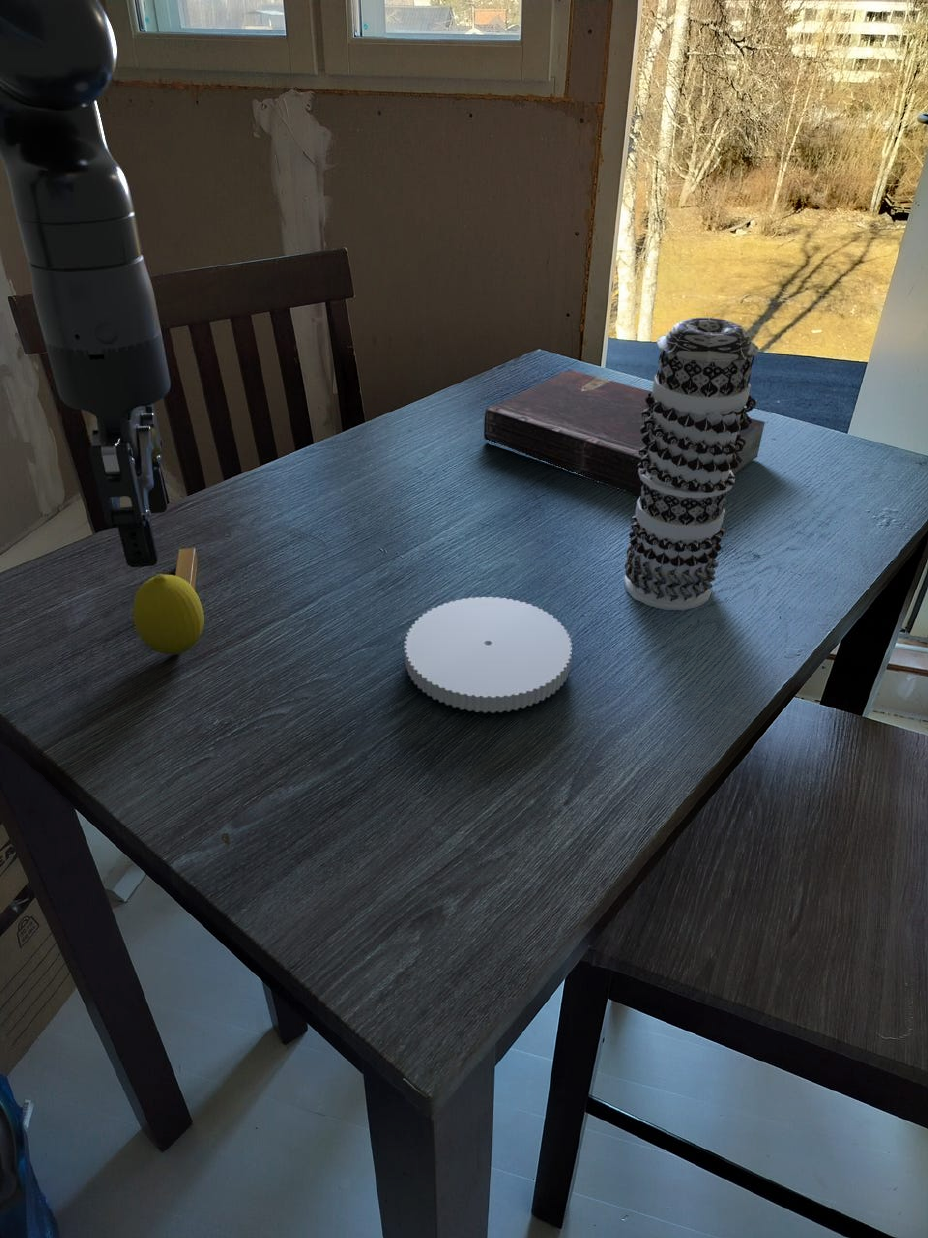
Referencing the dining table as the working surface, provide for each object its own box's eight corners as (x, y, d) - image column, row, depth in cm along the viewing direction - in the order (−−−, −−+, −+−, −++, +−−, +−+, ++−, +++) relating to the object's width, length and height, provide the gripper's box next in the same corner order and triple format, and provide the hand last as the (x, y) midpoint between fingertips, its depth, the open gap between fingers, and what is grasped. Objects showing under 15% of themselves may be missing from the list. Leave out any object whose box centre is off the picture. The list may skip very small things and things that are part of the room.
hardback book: (483, 443, 111) (484, 406, 108) (566, 403, 122) (569, 369, 119) (684, 513, 95) (691, 472, 92) (756, 459, 107) (764, 421, 104)
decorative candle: (716, 618, 78) (774, 348, 64) (615, 605, 80) (650, 338, 66) (716, 568, 86) (768, 314, 71) (623, 556, 87) (656, 307, 73)
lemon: (132, 667, 72) (110, 588, 68) (165, 630, 77) (147, 554, 72) (191, 677, 71) (173, 598, 67) (222, 639, 76) (206, 562, 71)
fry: (174, 612, 79) (171, 597, 78) (181, 562, 86) (178, 548, 85) (192, 610, 79) (189, 596, 78) (198, 560, 86) (195, 547, 86)
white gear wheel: (493, 602, 81) (494, 579, 79) (604, 672, 72) (607, 649, 70) (372, 660, 73) (371, 637, 72) (480, 747, 64) (480, 722, 63)
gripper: (63, 302, 63) (111, 499, 72) (20, 365, 52) (84, 589, 61) (168, 299, 64) (202, 493, 74) (149, 359, 53) (192, 579, 62)
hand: (149, 536), depth 67 cm, fingers open, 8 cm apart
